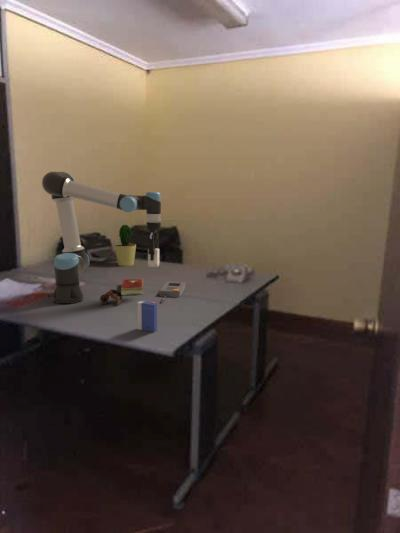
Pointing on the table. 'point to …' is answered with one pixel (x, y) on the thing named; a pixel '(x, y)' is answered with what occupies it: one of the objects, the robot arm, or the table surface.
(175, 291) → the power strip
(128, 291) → the hardcover book
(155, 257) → the charger brick
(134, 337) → the table surface
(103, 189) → the robot arm
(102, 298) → the brown arched piece
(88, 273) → the table surface
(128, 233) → the potted cactus
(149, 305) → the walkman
